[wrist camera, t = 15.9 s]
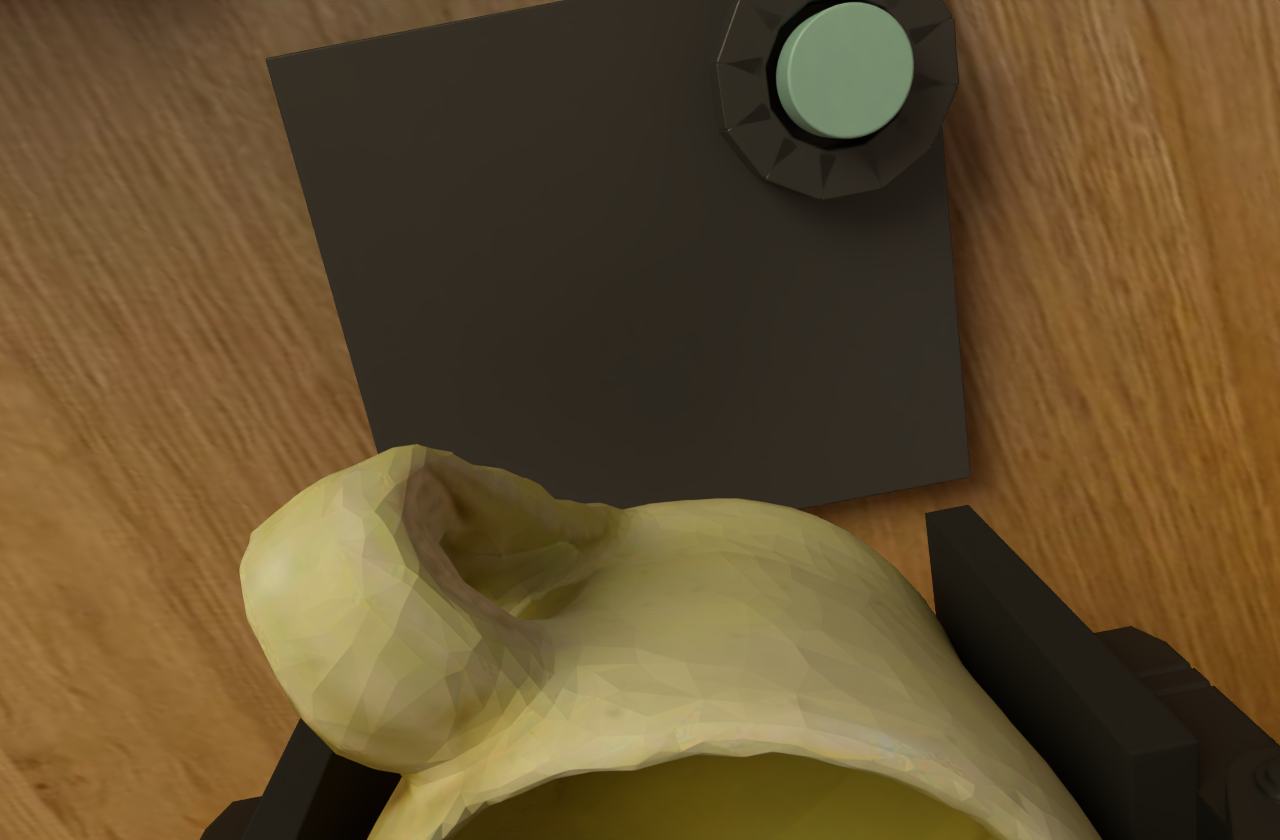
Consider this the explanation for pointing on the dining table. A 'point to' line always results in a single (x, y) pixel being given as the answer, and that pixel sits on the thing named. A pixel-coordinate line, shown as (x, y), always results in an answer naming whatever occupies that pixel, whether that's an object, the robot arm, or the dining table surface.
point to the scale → (637, 252)
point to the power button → (845, 71)
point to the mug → (627, 668)
